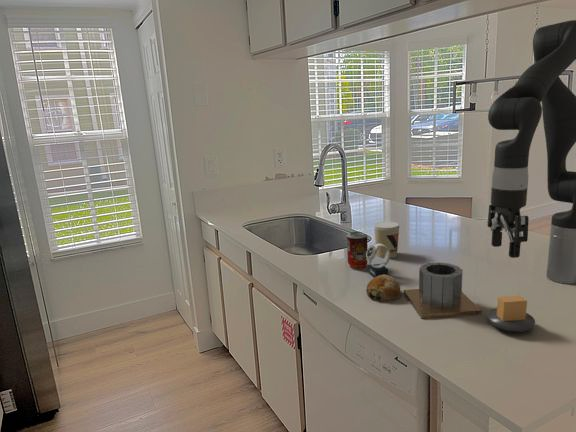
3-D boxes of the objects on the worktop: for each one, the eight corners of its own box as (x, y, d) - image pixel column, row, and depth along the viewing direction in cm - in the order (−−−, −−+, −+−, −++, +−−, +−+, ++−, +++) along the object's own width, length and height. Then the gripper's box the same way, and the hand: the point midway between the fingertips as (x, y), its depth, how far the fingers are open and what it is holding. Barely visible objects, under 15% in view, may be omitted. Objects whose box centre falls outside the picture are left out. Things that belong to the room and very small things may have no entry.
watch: (363, 274, 144) (363, 243, 142) (386, 271, 146) (385, 240, 143) (370, 280, 139) (369, 248, 136) (393, 277, 141) (393, 245, 138)
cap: (519, 315, 111) (521, 288, 109) (543, 335, 101) (546, 306, 99) (479, 318, 111) (481, 291, 109) (500, 338, 101) (502, 309, 99)
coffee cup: (391, 260, 156) (391, 229, 153) (369, 256, 162) (369, 225, 159) (403, 253, 162) (403, 223, 159) (382, 249, 168) (381, 220, 166)
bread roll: (401, 311, 125) (412, 286, 124) (373, 303, 121) (383, 277, 121) (384, 298, 134) (394, 274, 133) (357, 290, 131) (367, 266, 130)
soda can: (352, 271, 148) (352, 237, 145) (344, 264, 154) (343, 232, 152) (371, 268, 150) (370, 234, 147) (362, 261, 156) (361, 229, 153)
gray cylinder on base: (455, 289, 128) (457, 258, 126) (481, 314, 113) (483, 278, 110) (403, 293, 128) (403, 261, 126) (421, 318, 112) (421, 282, 110)
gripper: (543, 190, 93) (537, 260, 97) (509, 180, 107) (505, 242, 111) (508, 192, 93) (504, 262, 97) (479, 181, 107) (476, 243, 111)
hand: (504, 251), depth 104 cm, fingers open, 8 cm apart
